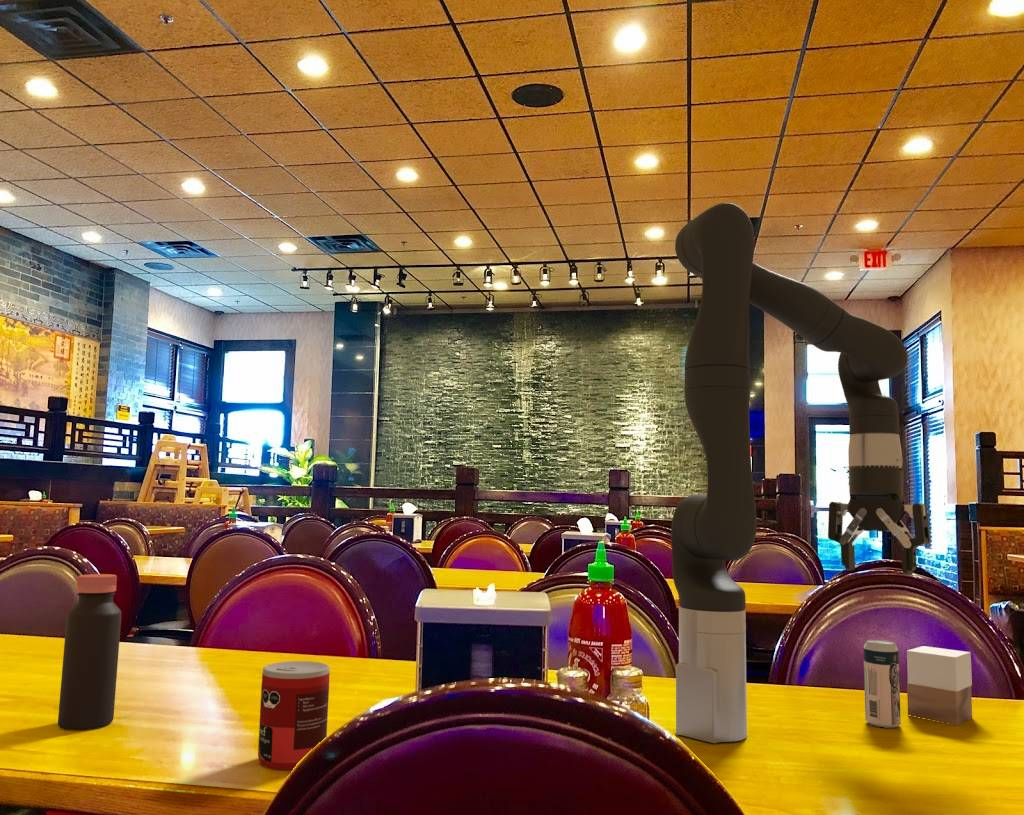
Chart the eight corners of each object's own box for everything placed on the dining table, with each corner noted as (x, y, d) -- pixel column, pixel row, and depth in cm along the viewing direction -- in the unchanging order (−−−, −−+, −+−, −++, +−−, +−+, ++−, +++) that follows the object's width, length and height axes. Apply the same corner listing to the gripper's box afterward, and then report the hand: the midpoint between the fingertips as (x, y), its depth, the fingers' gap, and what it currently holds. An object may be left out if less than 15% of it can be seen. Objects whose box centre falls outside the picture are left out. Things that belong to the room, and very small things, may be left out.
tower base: (957, 726, 122) (955, 691, 123) (908, 717, 127) (906, 683, 127) (972, 718, 127) (970, 685, 127) (924, 709, 132) (923, 677, 132)
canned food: (264, 751, 102) (269, 660, 103) (329, 751, 103) (333, 660, 104) (250, 771, 94) (255, 673, 96) (320, 771, 95) (325, 673, 96)
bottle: (56, 733, 107) (69, 578, 110) (58, 720, 113) (70, 573, 116) (114, 728, 111) (125, 577, 113) (112, 716, 117) (123, 573, 119)
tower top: (956, 691, 123) (955, 657, 123) (907, 683, 128) (906, 650, 128) (971, 685, 127) (970, 652, 128) (924, 677, 132) (923, 645, 133)
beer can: (904, 730, 118) (901, 645, 120) (869, 728, 119) (867, 643, 121) (896, 722, 123) (893, 640, 125) (862, 719, 124) (860, 638, 125)
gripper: (819, 464, 128) (821, 569, 126) (915, 462, 118) (919, 577, 116) (839, 466, 133) (842, 567, 132) (933, 464, 123) (937, 574, 121)
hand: (878, 571), depth 124 cm, fingers open, 8 cm apart
